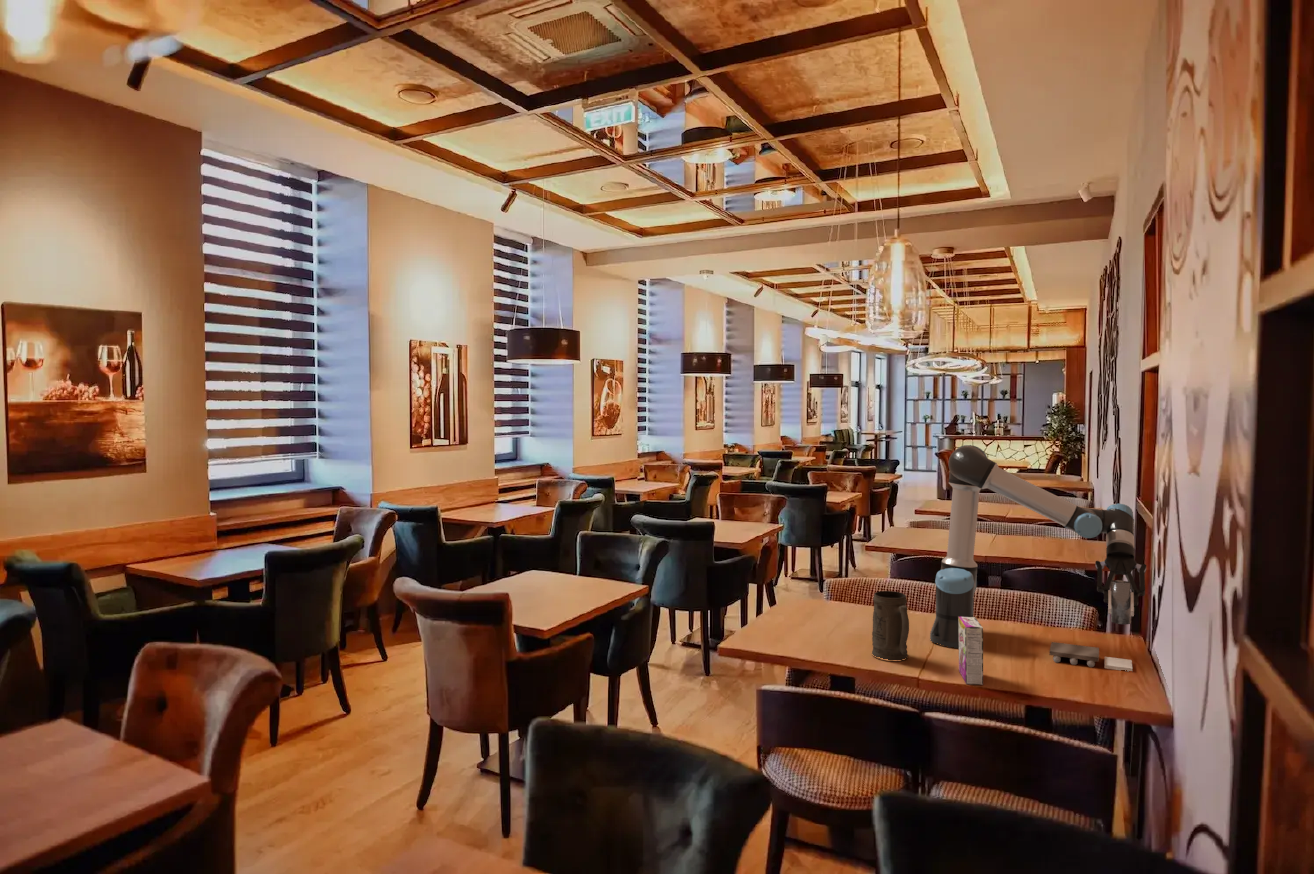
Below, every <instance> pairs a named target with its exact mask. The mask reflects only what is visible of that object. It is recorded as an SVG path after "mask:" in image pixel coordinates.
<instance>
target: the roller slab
mask: <svg viewBox="0 0 1314 874" xmlns="http://www.w3.org/2000/svg"><path fill="white" fill-rule="evenodd" d="M1050 643H1051V644H1050V647H1049V651H1048V653H1049V656H1053V657H1052V660H1053V662H1054V663H1056V664H1057V663H1060V662H1061V660H1062V658H1068V659H1069V663H1070V664H1071V665H1073V666H1076V665H1077V664H1078V660H1084V661H1086V665H1087V666H1088V667H1089V668H1094V667H1095V665H1096V662H1100V647H1097V646H1096V647H1095V646H1085V645H1080V644H1079V645H1078V644H1072V643H1064V642H1055V641H1051V642H1050Z"/></svg>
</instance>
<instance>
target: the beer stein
mask: <svg viewBox="0 0 1314 874" xmlns="http://www.w3.org/2000/svg"><path fill="white" fill-rule="evenodd" d="M907 600H908V599H907V595H906V594H904V593H902V592H899V591H894V590H893V591H892V590H880V591H877V592H876V591H875V592H874V595H873V612H872V632H871V633H872V634H871V635H872V638H871V640H872V651H871V655H872V654H873V655H874V656H876V657H880V658H883V659H888V660H902V659H905V658H907V657H908V658H909V655H908V644H907V642H908V639H909V632H910V620H909V614H908V605H907V602H908V601H907ZM873 655H872V656H873ZM874 656H873V657H874ZM908 658H907V659H908Z"/></svg>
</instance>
